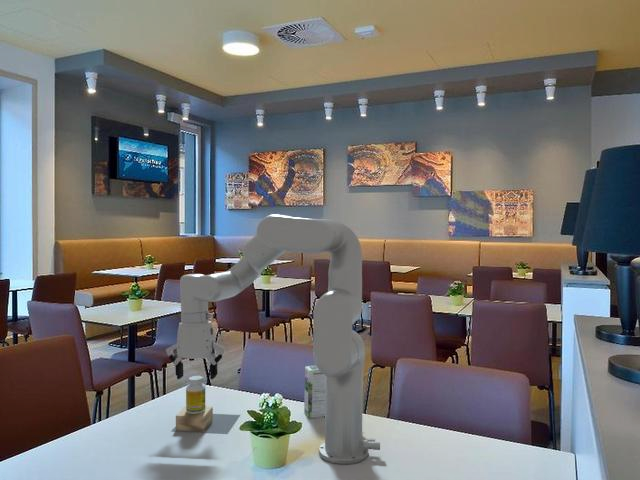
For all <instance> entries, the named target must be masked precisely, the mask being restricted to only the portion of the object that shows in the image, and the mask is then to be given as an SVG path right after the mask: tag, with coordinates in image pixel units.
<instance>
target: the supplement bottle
mask: <svg viewBox="0 0 640 480" xmlns="http://www.w3.org/2000/svg"><path fill="white" fill-rule="evenodd" d="M203 382H204V377H203V376H201V375H193V376H190V377H188V384H187V385H186V388H185V406H186V412H187V413H189V414H199V413H202V412H204V411H205V406H206V385H205V383H203Z"/></svg>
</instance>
